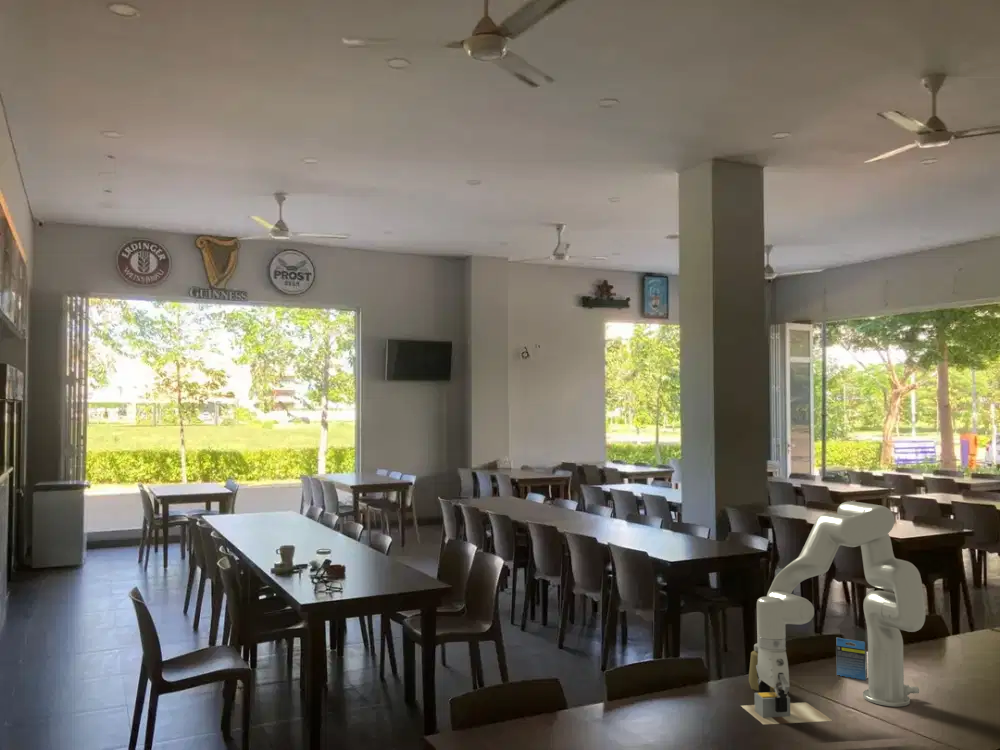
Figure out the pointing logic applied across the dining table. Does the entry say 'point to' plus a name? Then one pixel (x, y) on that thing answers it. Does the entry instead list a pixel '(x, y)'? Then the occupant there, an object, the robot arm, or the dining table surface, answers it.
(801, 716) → the board
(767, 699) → the grey block
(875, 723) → the dining table surface
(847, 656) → the label tape box
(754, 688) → the squeeze bottle
